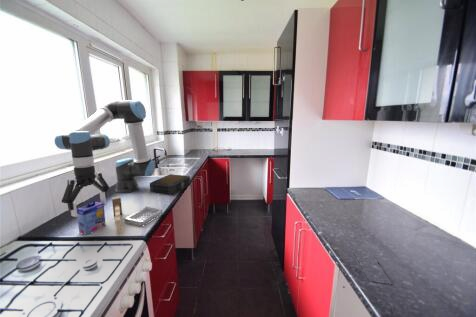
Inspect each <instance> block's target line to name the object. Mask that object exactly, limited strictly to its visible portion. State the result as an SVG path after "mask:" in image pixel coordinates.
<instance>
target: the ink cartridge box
mask: <svg viewBox="0 0 476 317" xmlns="http://www.w3.org/2000/svg"><path fill="white" fill-rule="evenodd" d="M76 209H77V215H78V216H77V217H76V218H77V226H78V231H79V234H81V233H82V234H81V235H84V234H86V235H85V236H88V235H90V234H92V233H94V232H96V231H98V230H100V229H102V228H104V227H106V226H107V225H106V224H107V223H106V214H105V205H104V203H101V201H97V200H96V199H94V200H92V201H91V202H90V201H89V202H87V205H83V206H80V207H78V208H76ZM91 232H92V233H91ZM89 233H90V234H89ZM87 234H88V235H87Z"/></svg>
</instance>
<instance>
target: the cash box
mask: <svg viewBox="0 0 476 317" xmlns="http://www.w3.org/2000/svg"><path fill="white" fill-rule="evenodd" d="M189 186H191V176H190V175H181V174H167V175H165V176H163V177H160V178H158V179H156V180H153V181H152V182H149V193H151V194H158V195H164V196H175V195H176V194H178V193H180V192H181V191H183V190H185V189H187V188H188V187H189Z"/></svg>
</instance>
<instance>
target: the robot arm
mask: <svg viewBox="0 0 476 317" xmlns="http://www.w3.org/2000/svg"><path fill="white" fill-rule="evenodd" d="M146 116H147V111H146V107H145V106H144V104H143V102H141V100H140V101H139V100H135V99H134V100H128V99H126V100H123V99H122V100H118V99H117V100H112V101H109V102H107V103H104V104H103V105H101V106H100V107H98V108H97V110H96V112H94V114H92V115H91V116H90V117H88V118H87V119H86V120H83V121H82V122H81V123H80V124H78V125H77V126H76V127H74V128H73V129H72V130H71V131H69V132H68V133H62V134H61V133H60V134H58V135H56V136H55V138H54V145H55V146H56V147H57V148H58V149H60V150H67V151H71V157H72V165H73V172H74V173H73V174H74V176H75V178H74V179H67V186H66V187H65V188H66V189H65V190H64V193H63V197H62V199H61V203H62V204H63V203H64V204H67V209H68V211H70V215H71V217H75V218H77V216H78V215H77V209H78V208H77V204H76V201H75V200H76V198H77V197H78V195H79V194H80V192H81V190H82V189H83V188H84V187H88V186H92V185H93V187H95V188H97V189H98V190H99V199H100V200H99V202H101V203H104V206H106V205H107V200H106V199H107V192H108V190H110V186H109V184H108V183H107V181H106V180H105V179H104V177H103V174H102V172H96V169H95V168H96V167H95V160H94V152H93V151H99V150H105V149H107V148H108V147H110V143H111V141H110V140H111V139H110V137H109V136H108V135H107V134H103V133H97V131H99V130H100V129H102V127H104V126H105V125H106V124H107V123H110V122H112V121H114V120H119V119H120V120H123V122H124V124H125V125H127V128H128V133H129V136H130V137H129V138H130V142H131V146H132V150H133V156H134V158H132V157H128V158H123V159H117V161H116V162H115V173H116V174H115V175H116V184H115V193H118V194H125V193H132V192H135V191H137V190H139V184H138V182H137V179H136V177H151V176H153V175H154V172H155V170H156V162H155V161H154V160H152V159H151V156H149V155H148V148H147V144H146V139H145V133H144V129H143V122H144V121H145V120H144V119H145V118H146ZM95 133H97V134H95ZM96 178H97V180H96Z"/></svg>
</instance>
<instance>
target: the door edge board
mask: <svg viewBox="0 0 476 317" xmlns="http://www.w3.org/2000/svg"><path fill="white" fill-rule="evenodd" d="M111 201H112V203H111V204H112V209H113V211H112V212H113V217H114V218H115V221H114V222H115V228H116V235H117V234H118V235H122V234H123V230H122V229H123V228H121V227H122V219H121V218H122V217H121V216H123V208H122V207H123V206H122V197H121V196H114V197H112V198H111ZM121 233H122V234H121Z"/></svg>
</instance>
